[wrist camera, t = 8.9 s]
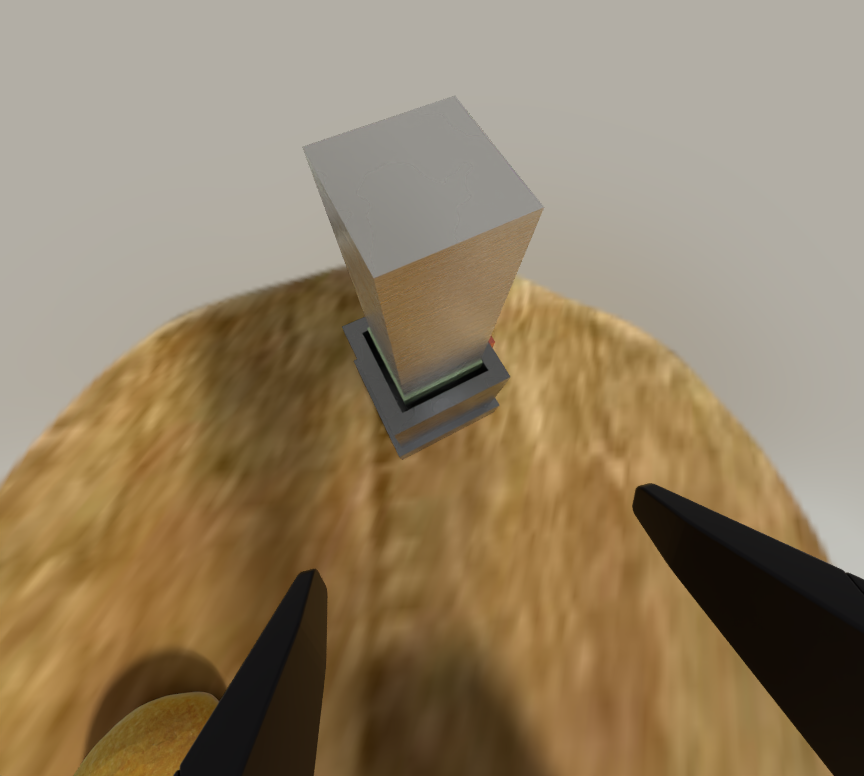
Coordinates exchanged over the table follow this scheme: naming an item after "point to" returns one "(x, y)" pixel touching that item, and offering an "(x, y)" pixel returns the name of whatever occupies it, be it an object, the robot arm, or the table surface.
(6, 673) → the table surface
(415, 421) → the dark grey box
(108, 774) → the bread roll
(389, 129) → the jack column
